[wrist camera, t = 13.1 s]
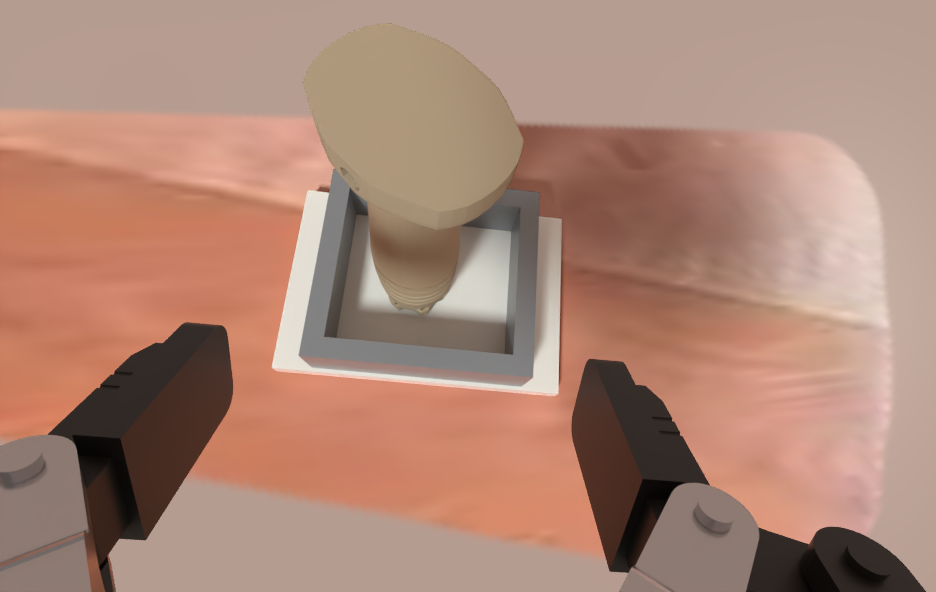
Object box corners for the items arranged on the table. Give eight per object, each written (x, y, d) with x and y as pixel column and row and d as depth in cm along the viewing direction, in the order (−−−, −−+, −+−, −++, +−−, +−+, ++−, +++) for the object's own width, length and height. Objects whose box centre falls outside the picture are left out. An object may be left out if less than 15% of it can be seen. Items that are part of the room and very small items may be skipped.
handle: (408, 223, 29) (398, -1, 15) (487, 300, 28) (556, 136, 14) (343, 277, 28) (266, 85, 14) (424, 360, 27) (431, 245, 13)
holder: (276, 371, 27) (253, 355, 23) (311, 198, 30) (295, 161, 27) (553, 396, 28) (574, 385, 24) (557, 226, 31) (576, 193, 28)
